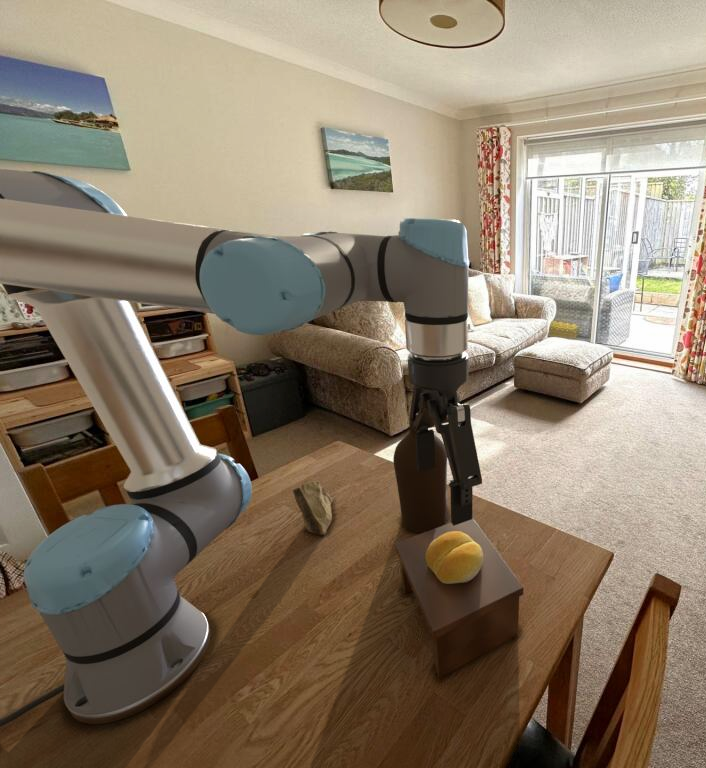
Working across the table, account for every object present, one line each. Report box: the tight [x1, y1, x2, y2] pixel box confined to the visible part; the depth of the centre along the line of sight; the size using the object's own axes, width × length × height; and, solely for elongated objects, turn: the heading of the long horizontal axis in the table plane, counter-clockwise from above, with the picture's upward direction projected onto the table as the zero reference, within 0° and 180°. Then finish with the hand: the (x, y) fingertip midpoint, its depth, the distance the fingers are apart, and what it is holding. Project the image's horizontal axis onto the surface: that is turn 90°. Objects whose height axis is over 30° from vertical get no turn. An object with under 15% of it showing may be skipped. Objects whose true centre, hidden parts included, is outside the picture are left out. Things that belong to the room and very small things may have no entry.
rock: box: [292, 480, 333, 536], centre depth 86 cm, size 11×9×10 cm
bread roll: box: [426, 531, 483, 584], centre depth 62 cm, size 8×9×4 cm
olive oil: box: [392, 413, 448, 533], centre depth 83 cm, size 11×11×25 cm
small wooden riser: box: [394, 516, 524, 679], centre depth 65 cm, size 14×18×10 cm
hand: (442, 492), depth 58 cm, fingers open, 13 cm apart
